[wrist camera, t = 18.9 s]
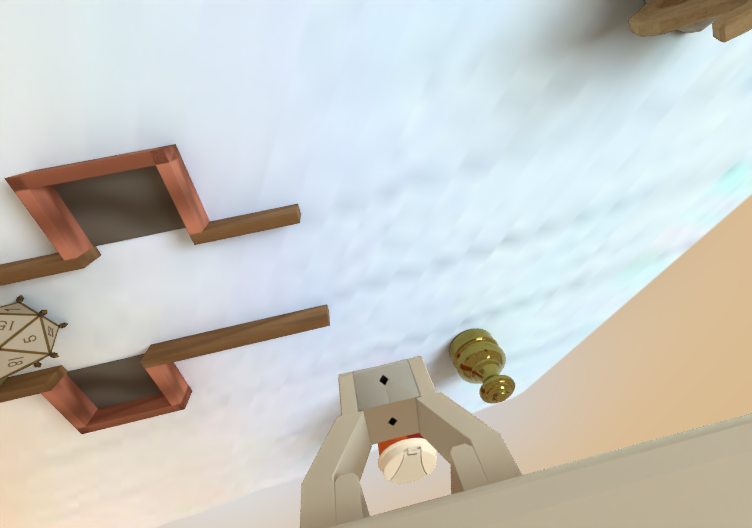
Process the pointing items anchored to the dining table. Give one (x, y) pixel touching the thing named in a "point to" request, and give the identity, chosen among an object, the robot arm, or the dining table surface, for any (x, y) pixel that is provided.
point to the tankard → (693, 17)
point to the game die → (24, 337)
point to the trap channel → (78, 249)
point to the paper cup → (406, 458)
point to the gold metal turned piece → (482, 364)
